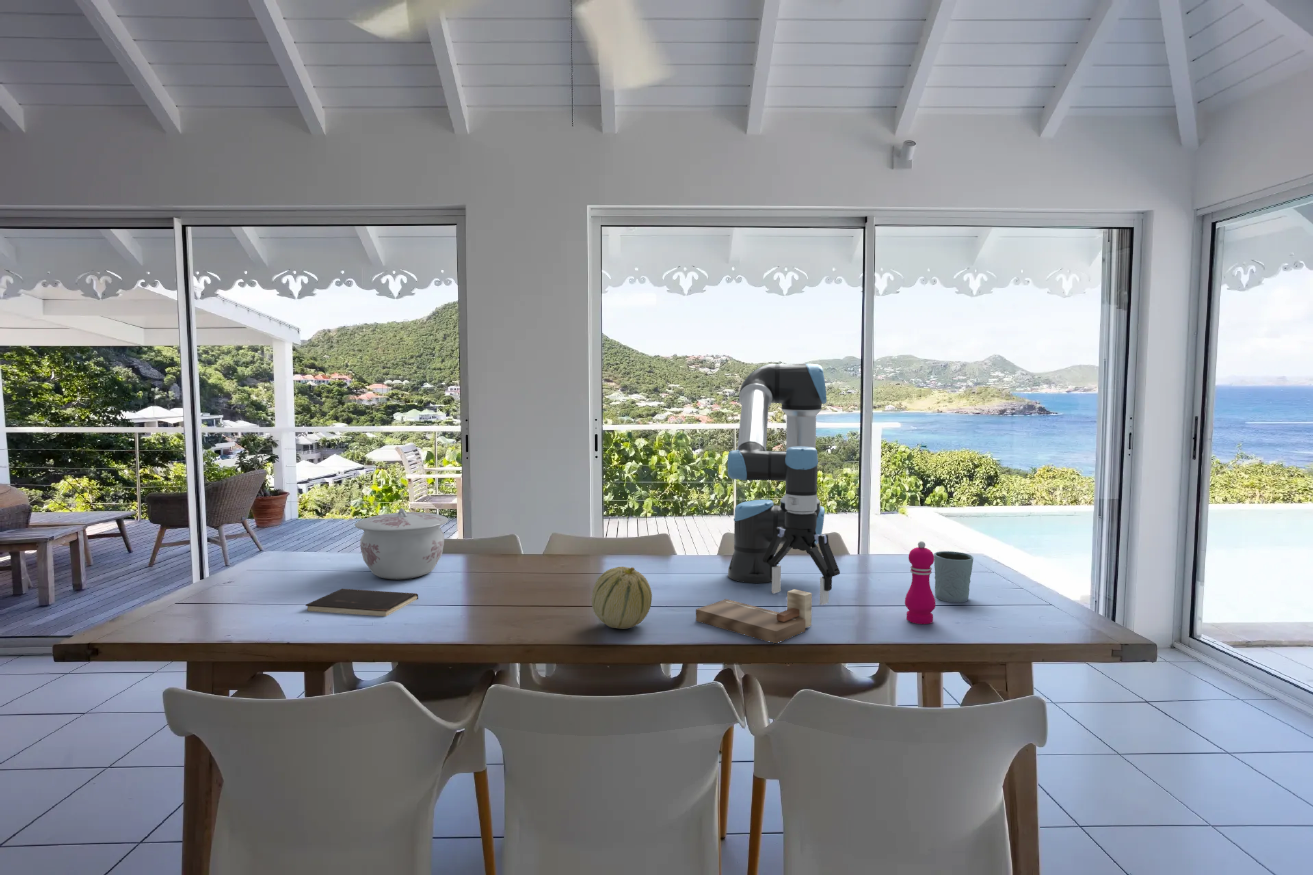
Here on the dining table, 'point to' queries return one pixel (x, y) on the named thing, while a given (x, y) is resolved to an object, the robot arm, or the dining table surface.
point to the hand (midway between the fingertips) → (799, 597)
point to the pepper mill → (920, 586)
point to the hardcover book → (362, 602)
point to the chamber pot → (402, 543)
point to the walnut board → (749, 620)
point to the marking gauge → (797, 607)
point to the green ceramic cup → (952, 575)
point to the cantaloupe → (621, 597)
